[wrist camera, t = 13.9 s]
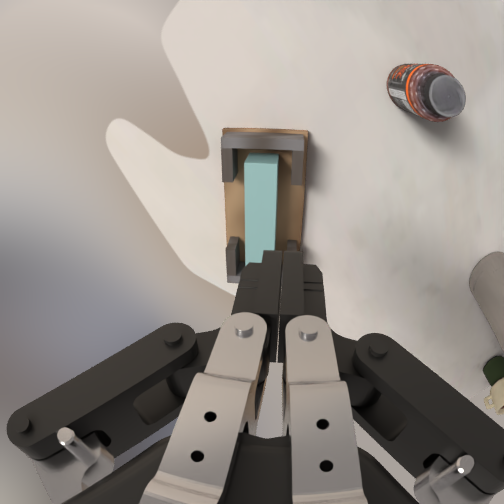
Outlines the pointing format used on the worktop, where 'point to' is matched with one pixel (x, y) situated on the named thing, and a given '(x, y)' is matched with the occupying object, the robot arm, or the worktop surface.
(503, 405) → the character mug
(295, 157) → the endcap board
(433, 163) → the worktop surface
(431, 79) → the supplement bottle
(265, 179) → the teal rectangular block
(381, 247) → the worktop surface
